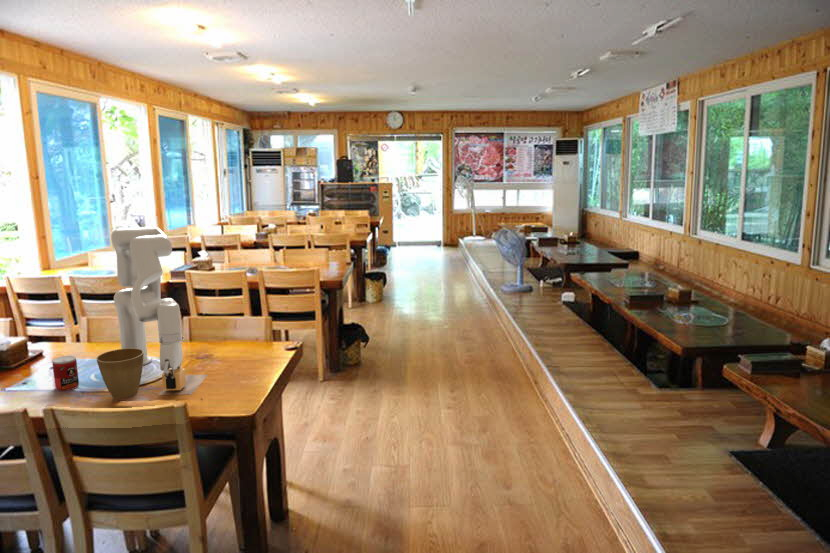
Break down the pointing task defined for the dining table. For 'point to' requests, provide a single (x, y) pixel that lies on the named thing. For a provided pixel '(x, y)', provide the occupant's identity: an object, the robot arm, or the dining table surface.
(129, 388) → the plant pot
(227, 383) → the dining table surface
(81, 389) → the dining table surface
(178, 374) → the wooden block
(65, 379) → the canned food
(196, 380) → the junction board
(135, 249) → the robot arm
